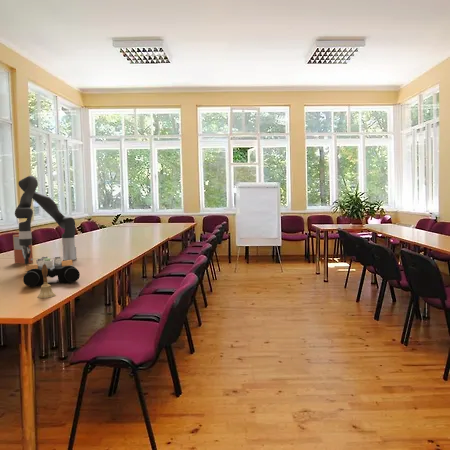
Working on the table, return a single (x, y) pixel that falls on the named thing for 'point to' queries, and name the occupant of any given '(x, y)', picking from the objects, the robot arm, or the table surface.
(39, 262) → the knob
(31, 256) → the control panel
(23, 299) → the table surface
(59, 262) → the knob
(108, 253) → the table surface
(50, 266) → the levelling plate
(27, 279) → the binoculars
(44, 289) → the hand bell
